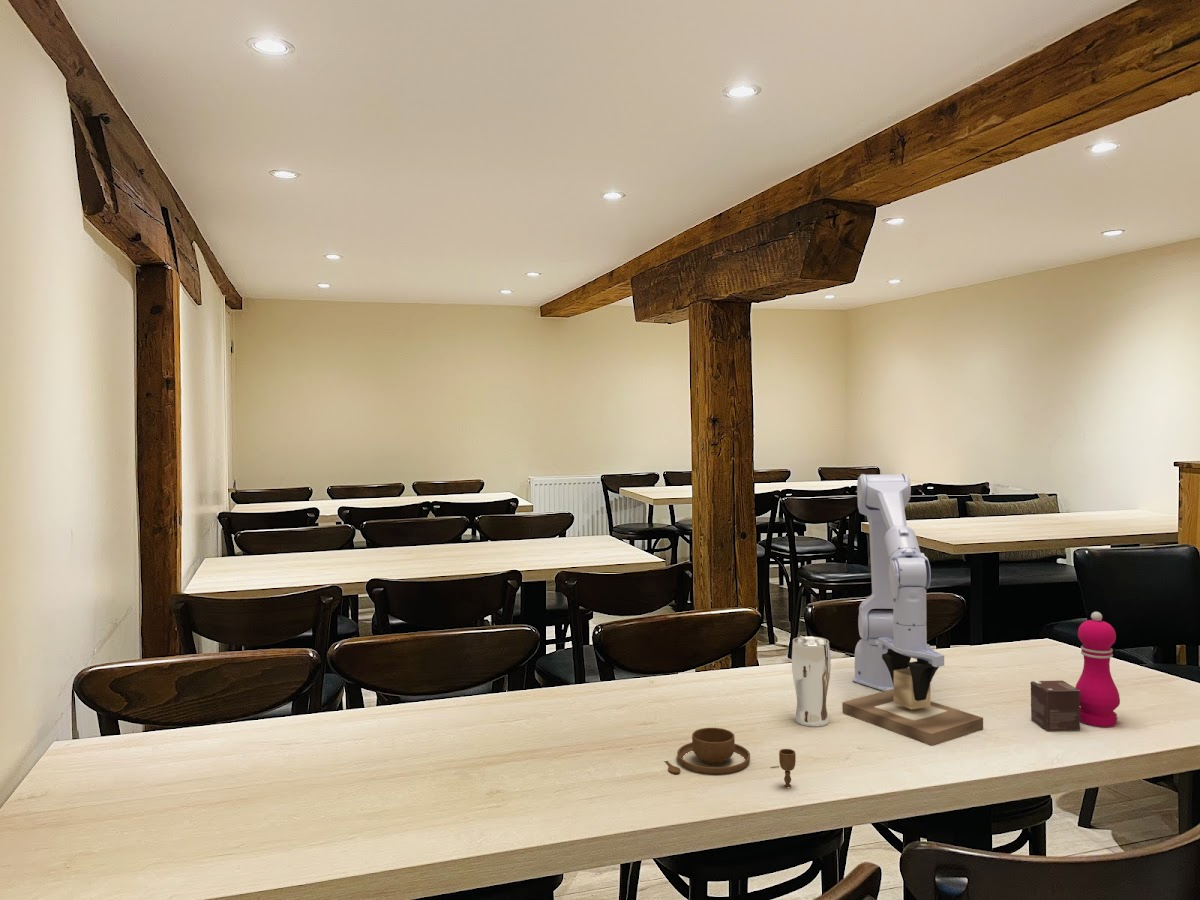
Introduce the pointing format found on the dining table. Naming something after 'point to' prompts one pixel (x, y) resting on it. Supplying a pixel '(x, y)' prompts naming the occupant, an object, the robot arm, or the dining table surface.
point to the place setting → (724, 753)
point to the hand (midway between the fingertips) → (910, 695)
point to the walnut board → (913, 718)
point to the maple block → (907, 690)
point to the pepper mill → (1097, 673)
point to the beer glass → (811, 679)
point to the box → (1055, 705)
